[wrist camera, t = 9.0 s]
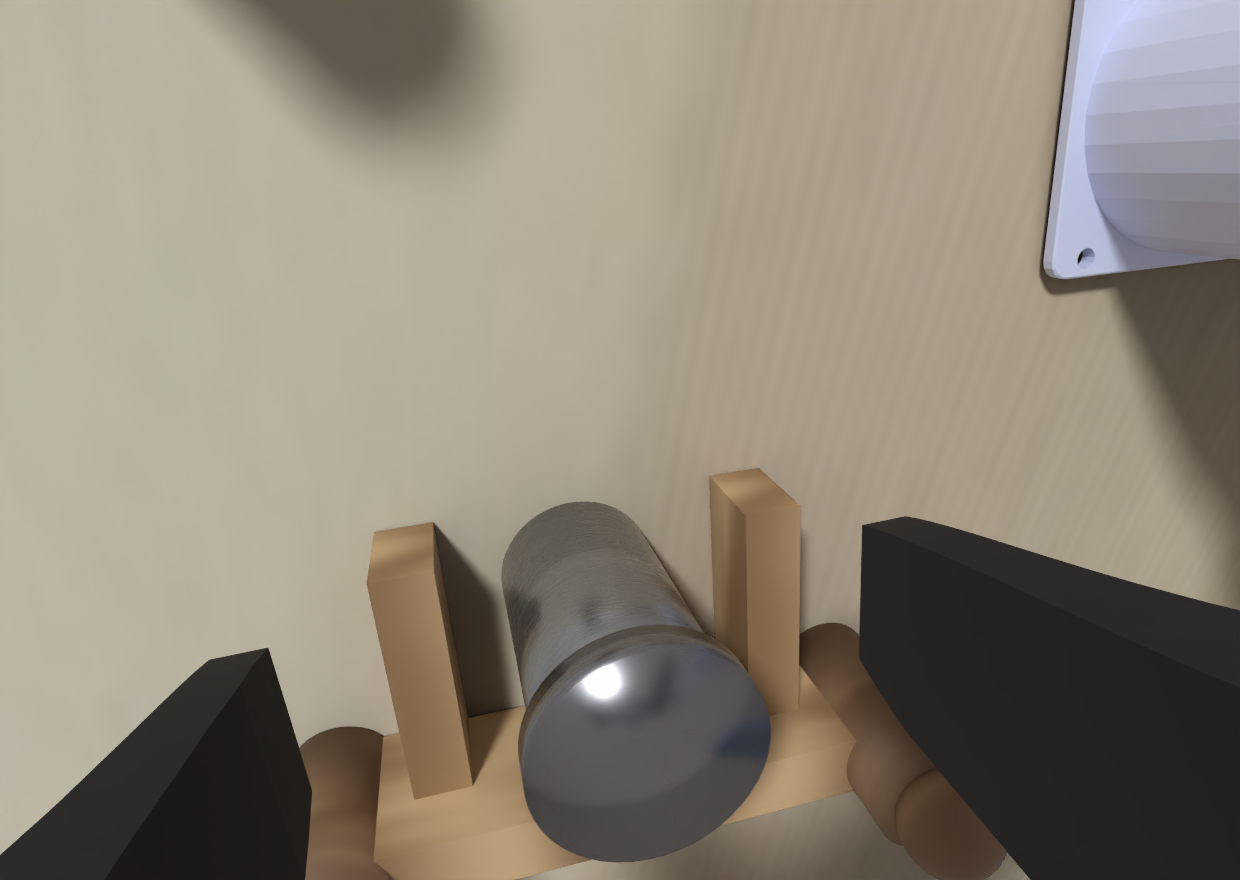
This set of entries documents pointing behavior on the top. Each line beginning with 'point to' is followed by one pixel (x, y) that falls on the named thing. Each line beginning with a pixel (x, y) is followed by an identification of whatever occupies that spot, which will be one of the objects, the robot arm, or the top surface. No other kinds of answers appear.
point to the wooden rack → (488, 744)
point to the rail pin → (622, 693)
